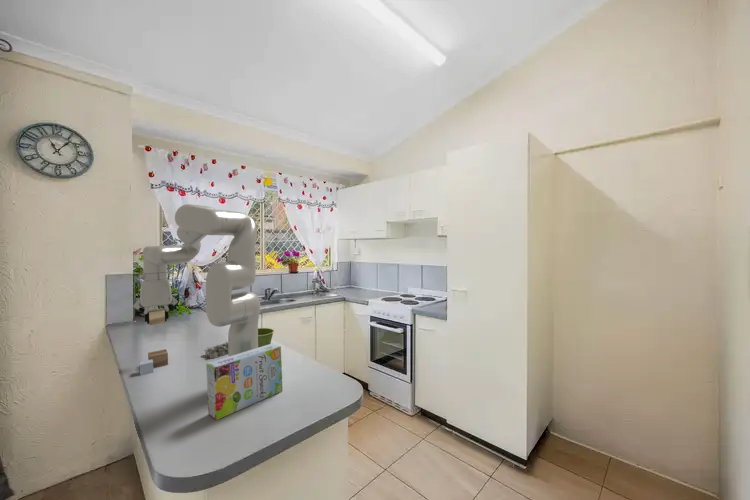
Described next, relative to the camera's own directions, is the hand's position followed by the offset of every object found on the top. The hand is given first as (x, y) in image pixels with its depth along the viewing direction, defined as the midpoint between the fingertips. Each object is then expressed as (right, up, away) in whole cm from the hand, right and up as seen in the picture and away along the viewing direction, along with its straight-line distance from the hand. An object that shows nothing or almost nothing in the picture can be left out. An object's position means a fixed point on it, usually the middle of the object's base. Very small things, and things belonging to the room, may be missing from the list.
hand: (156, 321), depth 124 cm
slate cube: (+1, -18, -7) cm, 19 cm away
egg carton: (+19, -17, +12) cm, 29 cm away
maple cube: (0, -1, 0) cm, 1 cm away
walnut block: (0, -18, +1) cm, 18 cm away
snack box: (+49, -18, -30) cm, 60 cm away
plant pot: (+39, -17, +6) cm, 43 cm away
